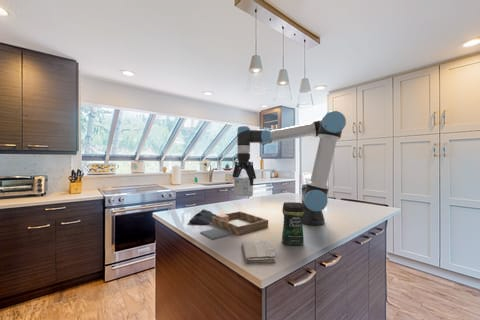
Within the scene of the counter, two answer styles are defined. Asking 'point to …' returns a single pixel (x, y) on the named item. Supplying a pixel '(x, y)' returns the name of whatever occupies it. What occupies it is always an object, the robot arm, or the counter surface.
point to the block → (223, 217)
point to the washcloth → (258, 252)
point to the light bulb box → (241, 187)
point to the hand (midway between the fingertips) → (243, 189)
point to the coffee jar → (293, 223)
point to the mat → (216, 233)
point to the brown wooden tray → (256, 225)
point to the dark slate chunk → (203, 218)
